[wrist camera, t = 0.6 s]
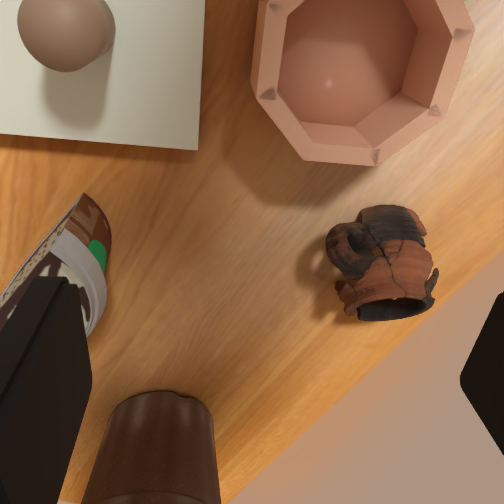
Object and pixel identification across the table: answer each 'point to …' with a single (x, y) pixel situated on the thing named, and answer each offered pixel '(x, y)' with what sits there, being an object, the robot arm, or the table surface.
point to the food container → (69, 261)
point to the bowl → (357, 72)
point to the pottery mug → (383, 264)
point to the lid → (102, 70)
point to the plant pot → (156, 454)
